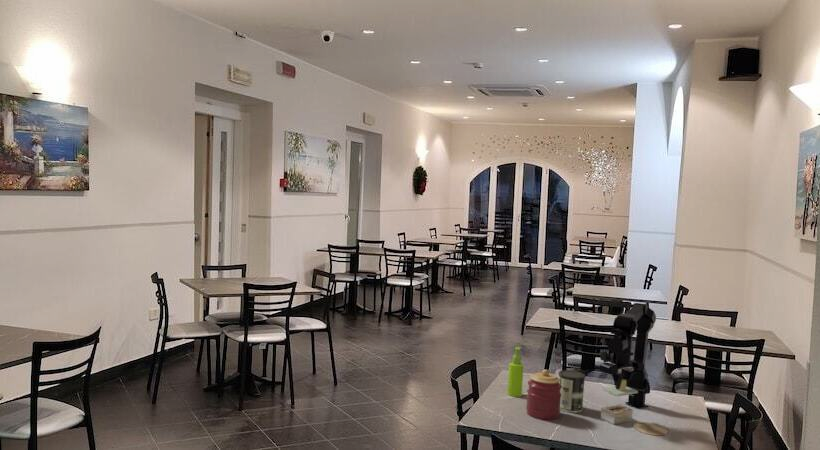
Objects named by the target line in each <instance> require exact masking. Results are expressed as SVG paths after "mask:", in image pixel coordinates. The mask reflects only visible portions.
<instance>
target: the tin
mask: <svg viewBox="0 0 820 450" xmlns="http://www.w3.org/2000/svg"><path fill="white" fill-rule="evenodd" d="M633 412H634V410H633V409H632V408H629V407H627V406H624V405H622V404H613V405H609V406H603V407H601V408H600V420H603V421H605V422H607V423H608V424H611V425H612V426H614V425H620V424H621V425H622V424H625V423H630V422H633Z"/></svg>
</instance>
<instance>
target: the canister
mask: <svg viewBox="0 0 820 450" xmlns="http://www.w3.org/2000/svg"><path fill="white" fill-rule="evenodd" d="M529 378H530V380H528V381H527V385H528V389H527V390H526V392H527V395H526V396H527V397H526V405H525V409H526V410H525V411H526V414H527V415H529V416H530V417H532V418H535V419H539V420H556V419H558V418H559V416H560V414H561V410H560V399H561V393H560V389H561V388H562V385H561V384H560V383H559V382H560V379H559V376H557V375H555V374H554V373H551V372H550V371H549V370H548V369H543V370H542V371H541V372H539V371H538V372H535V373H533V374H531V375H530V377H529Z"/></svg>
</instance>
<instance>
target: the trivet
mask: <svg viewBox="0 0 820 450" xmlns="http://www.w3.org/2000/svg"><path fill="white" fill-rule="evenodd" d="M633 429H635V430H636V431H637V432H639V433H643V434H644V435H649V436H654V437H655V436H656V437H657V436H662V437H663V436H666V435H668V434H669V430H668V429H667V428H666V427H665V426H663V425H659V424H657V423H654V422H653V423H652V422H645V421H643V422H641V421H640V422H636V423H634V424H633Z"/></svg>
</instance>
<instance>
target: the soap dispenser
mask: <svg viewBox="0 0 820 450" xmlns="http://www.w3.org/2000/svg"><path fill="white" fill-rule="evenodd" d="M521 349H522V346H515V348H514V351H515V354H514V355H512V362H509V363H508V364H509V365H508V366H509V367H508V368H509V369H508V381H507V383H508V384H507V395H508V396H509V397H513V398H519V397H522V393H523V380H524V366H525V364H524V363H522V355H520V350H521Z"/></svg>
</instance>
